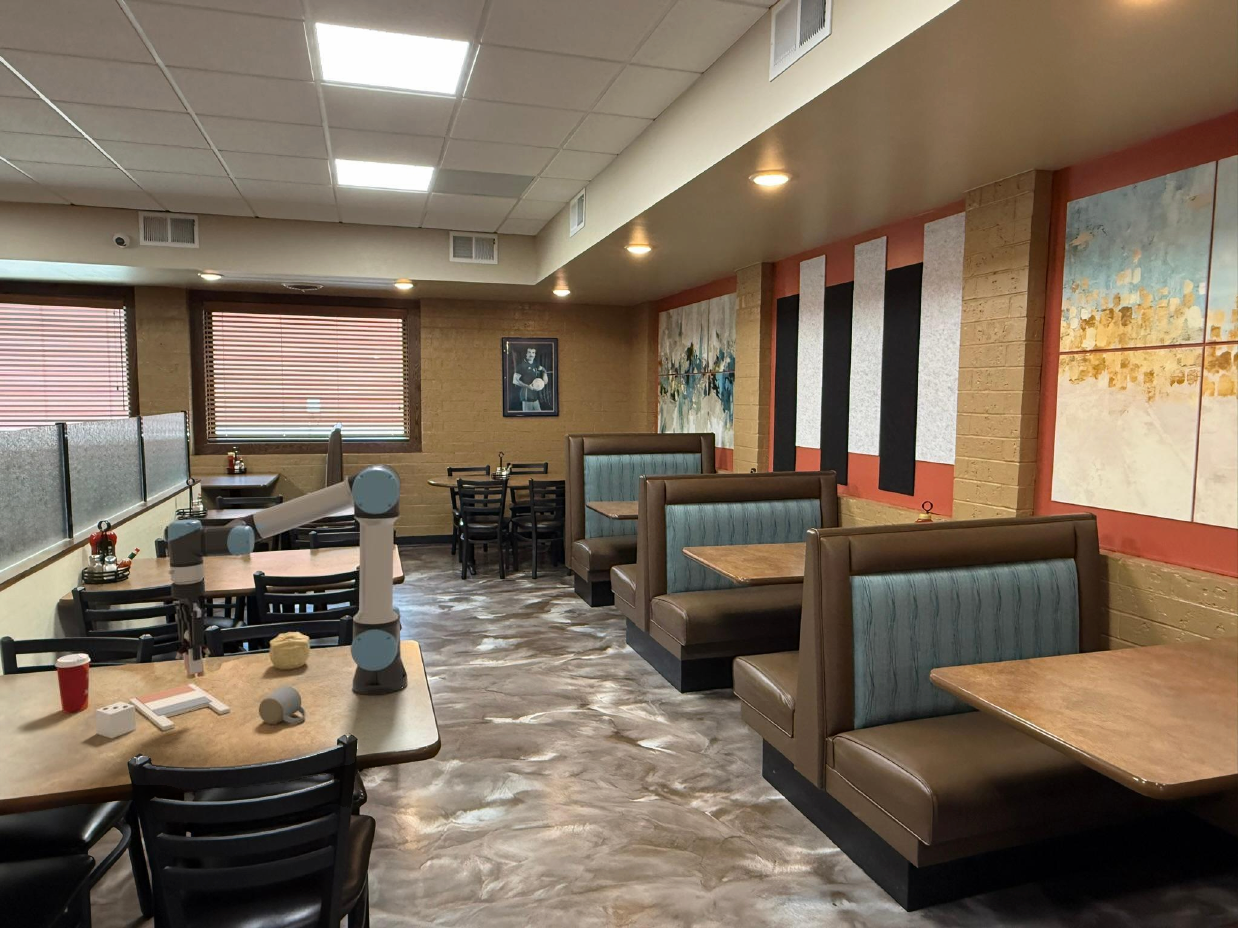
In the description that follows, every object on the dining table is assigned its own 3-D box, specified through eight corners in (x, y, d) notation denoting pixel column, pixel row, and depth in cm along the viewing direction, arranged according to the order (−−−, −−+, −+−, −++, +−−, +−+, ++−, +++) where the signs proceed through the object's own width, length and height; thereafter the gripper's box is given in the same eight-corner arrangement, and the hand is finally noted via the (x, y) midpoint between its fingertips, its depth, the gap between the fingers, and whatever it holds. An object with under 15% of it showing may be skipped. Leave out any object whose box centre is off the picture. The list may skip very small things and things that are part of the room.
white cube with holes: (136, 729, 195) (135, 705, 195) (111, 738, 190) (110, 713, 189) (121, 724, 198) (120, 701, 197) (96, 733, 193) (95, 709, 192)
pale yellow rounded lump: (270, 674, 234) (269, 639, 233) (269, 662, 245) (268, 628, 244) (311, 669, 239) (310, 635, 238) (309, 657, 250) (308, 624, 249)
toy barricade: (230, 711, 206) (230, 707, 206) (163, 730, 195) (163, 725, 194) (192, 687, 224) (192, 682, 224) (129, 702, 212) (129, 698, 212)
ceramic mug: (256, 724, 199) (255, 695, 198) (276, 711, 207) (275, 683, 206) (294, 728, 197) (293, 699, 196) (312, 715, 205) (312, 687, 204)
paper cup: (99, 706, 210) (96, 655, 208) (69, 716, 203) (66, 664, 201) (81, 701, 213) (78, 651, 212) (50, 711, 206) (47, 659, 205)
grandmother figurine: (207, 670, 206) (204, 623, 204) (212, 674, 203) (209, 626, 202) (175, 678, 200) (171, 630, 199) (179, 682, 197) (176, 633, 196)
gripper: (160, 578, 202) (166, 666, 204) (183, 588, 191) (189, 681, 193) (191, 573, 208) (196, 659, 210) (215, 582, 197) (221, 673, 199)
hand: (193, 669), depth 201 cm, fingers closed on grandmother figurine, 3 cm apart
